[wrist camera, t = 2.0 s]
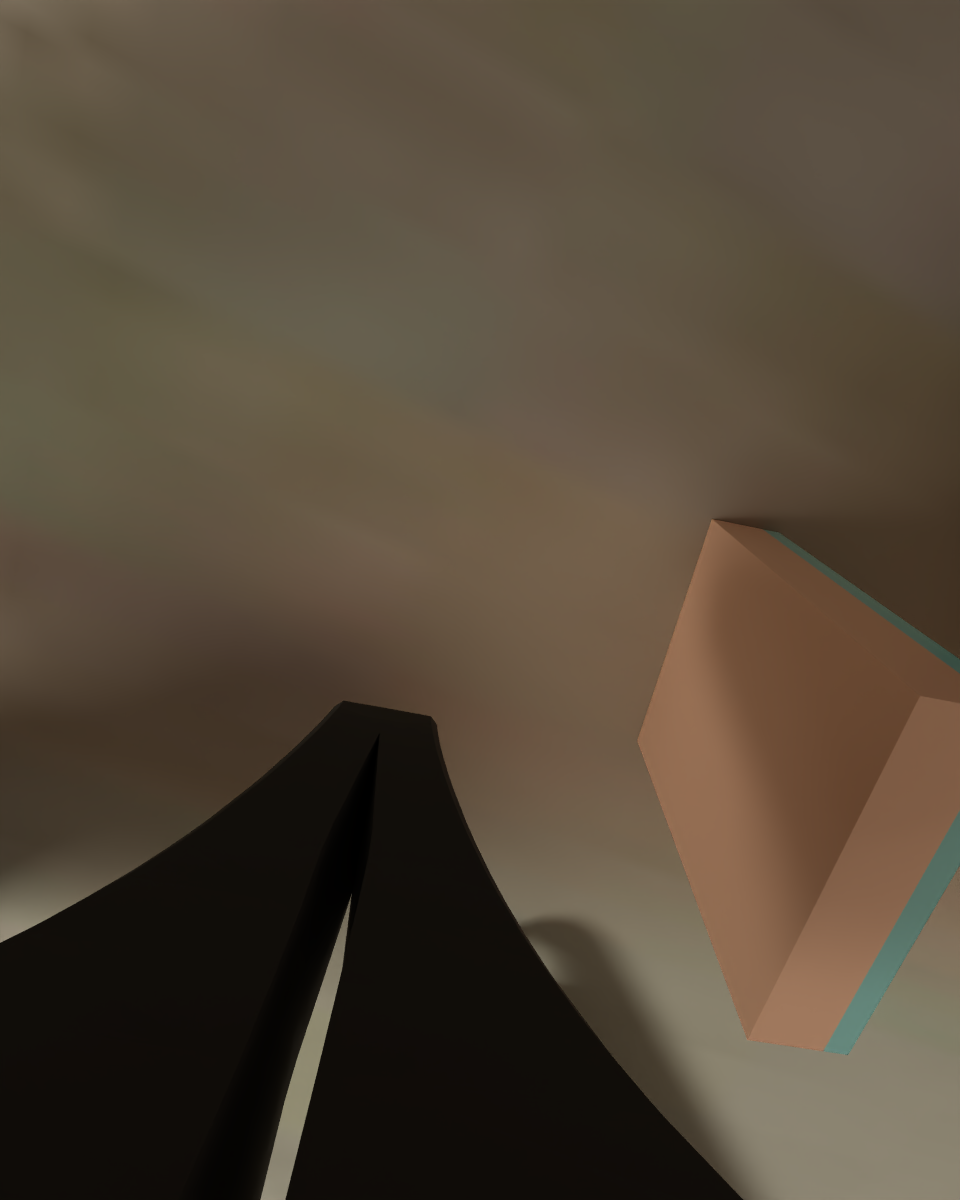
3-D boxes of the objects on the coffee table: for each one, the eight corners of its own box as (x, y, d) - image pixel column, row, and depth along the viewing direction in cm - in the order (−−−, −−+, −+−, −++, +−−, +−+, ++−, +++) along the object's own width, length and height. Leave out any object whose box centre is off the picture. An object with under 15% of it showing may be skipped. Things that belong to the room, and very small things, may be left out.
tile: (637, 740, 18) (747, 1040, 10) (712, 519, 16) (920, 695, 8) (696, 751, 18) (848, 1054, 10) (779, 532, 16) (1044, 719, 8)
